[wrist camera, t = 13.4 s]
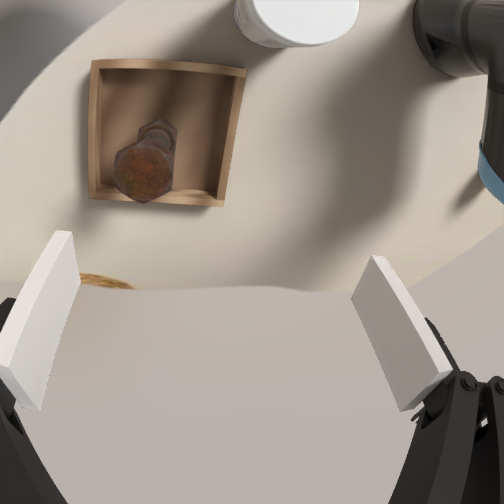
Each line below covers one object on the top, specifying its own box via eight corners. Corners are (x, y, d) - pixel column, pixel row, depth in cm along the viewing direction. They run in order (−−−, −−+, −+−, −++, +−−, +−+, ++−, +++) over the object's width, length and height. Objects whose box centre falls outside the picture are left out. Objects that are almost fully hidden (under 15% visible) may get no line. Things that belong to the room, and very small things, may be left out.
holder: (243, 68, 34) (247, 69, 32) (221, 195, 45) (223, 207, 42) (100, 59, 30) (91, 60, 28) (96, 187, 40) (89, 199, 38)
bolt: (149, 156, 38) (128, 212, 26) (132, 123, 35) (99, 164, 23) (190, 138, 38) (186, 185, 26) (174, 103, 35) (160, 133, 23)
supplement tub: (323, 12, 31) (382, 2, 19) (278, 62, 35) (318, 70, 23) (264, -33, 26) (298, -70, 15) (215, 18, 30) (224, 0, 18)
